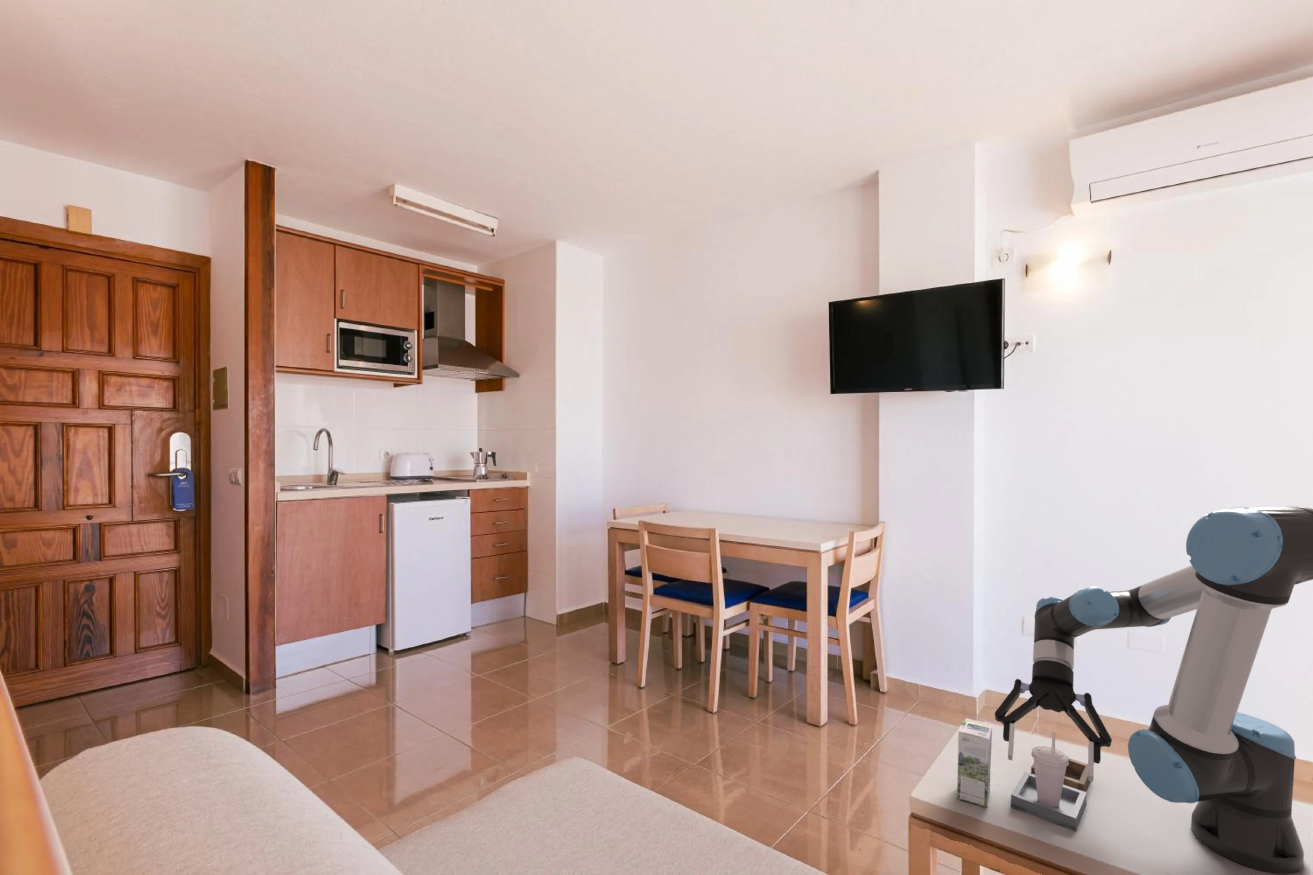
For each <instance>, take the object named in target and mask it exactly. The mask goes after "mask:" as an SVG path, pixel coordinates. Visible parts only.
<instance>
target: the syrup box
mask: <svg viewBox="0 0 1313 875" xmlns="http://www.w3.org/2000/svg"><path fill="white" fill-rule="evenodd" d="M992 737H993V728H992V726H989V725H984V724H980V723H977V722H973V721H972V722H971V721H968V720H963V719H962V720H961V723H960V725H959V729H958V737H957V738H958V740H957V741H958V743H957V745H958V747H957V778H956V779H957V782H956V783H957V786H956V799H958V800H960V801H963V802H967V803H970V804H974V805H977V806H981V807H983V808H984V807H985V808H988V806H989V801H990V796H991V769H992V768H991V764H992V763H991V761H992V742H993V740H992V739H993V738H992Z"/></svg>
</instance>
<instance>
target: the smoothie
mask: <svg viewBox="0 0 1313 875" xmlns="http://www.w3.org/2000/svg"><path fill="white" fill-rule="evenodd" d="M1056 734H1057V733H1056V732H1052V734H1051V747H1050V746H1044V745H1043V746H1040V745H1039V746H1034V747H1032V749H1031V757H1032V758H1033V763H1034V767H1035V777H1036V787H1037V796H1038V800H1039V802H1041V803H1043V804H1046V805H1048V806H1051V807H1058V806H1059V804H1060V798H1061V793H1062V788H1063V782H1064V777H1065V776H1066V773H1065V772H1066V766H1068V765H1069V756H1068V755H1067V754H1066V753H1065V752H1063V751H1061V750H1058V749H1056Z"/></svg>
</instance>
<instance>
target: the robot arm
mask: <svg viewBox="0 0 1313 875" xmlns="http://www.w3.org/2000/svg"><path fill="white" fill-rule="evenodd" d="M1185 549H1186V550H1185V551H1186V554H1187V555H1188V556H1189V557H1190V559H1189V563H1190V564H1191V565H1189V566H1186V567H1184V568H1181V569H1180V570H1177V571H1173V572H1172V573H1170V574H1166V575H1165V576H1164V575H1163V576H1162V577H1158V578H1156V579H1155V580H1152V581H1149V582H1147V583H1144V584H1142V585H1139V586H1137V587H1135V588H1131V589H1129V590H1128V589H1127V590H1119V591H1118V590H1117V591H1108V590H1106V589H1103V588H1101V587H1099V586H1089V587H1087V588H1083V589H1080V590H1078V591H1077V592H1074V593H1073V594H1072V595H1070V596H1068V597H1066V598H1061V597H1057V596H1049V597H1043V598H1040V599H1039V600H1038V601H1037V603H1036V607H1035V613H1034V632H1033V633H1034V634H1033V651H1032V654H1033V655H1032V661H1033V664H1032V668H1031V670H1032V671H1031V672H1032V673H1031V674H1032V675H1031V682H1030V683H1029V684H1028V683H1025V682H1023V681H1022V680H1021V679H1019V678H1016V679H1015V680H1014V684H1013V688H1012V689H1011V690H1010V692H1009V693H1008V695H1007V696H1006V697H1005V699H1004V700H1003V701H1002V703H1001V704H1000V705H999V707H997V709H996V710H995V712H994V719H995V720H996V722H999V723H1001V724H1002V725H1003V729H1002V730H1003V731H1002V738H1003V741H1005V742H1008V748H1007V760H1008V761H1013V760H1014V759H1013V758H1014V757H1013V755H1014V744H1015V731H1016V730H1015V728H1016V727H1015V723H1017V722H1018V721H1019V720H1021V719H1022V718H1024V717H1025V716H1026V715H1027V714H1029V713H1030V712H1031V711H1033V710H1035V709H1037V708H1038V707H1040V708H1042V710H1046V711H1054V712H1056V713H1062V712H1064V713H1065V714H1066V716H1068V718H1070V719H1071V721H1072V722H1074V724H1075V725H1076V726H1077V728H1078V729H1079V731H1080V732H1081V733H1082V734H1083V735H1084V736H1085V738H1087V740H1088V747H1087V748H1088V749H1087V750H1088V753H1087V757H1088V759H1087V760H1088V761H1087V764H1088V780H1089V781H1091V782H1094V777H1095V775H1094V773H1095V772H1094V769H1095V768H1094V766H1095V765H1094V764H1097V765H1098V764H1100V763H1101V757H1102V756H1101V752H1102V751H1101V750H1102V749H1101V748H1102V747H1107V748H1110V747H1111V745H1112V738H1111V735H1110V734H1109V732H1108V730H1107V728H1106V727H1105V724H1104V723H1103V721H1102V719H1101V717H1100V715H1099V713H1098V712H1097V710H1096V709H1095V706H1094V705H1093V699H1092V694H1091V693H1089V692H1085V693H1084V694H1083V693H1082V694H1081V693H1080V694H1079V693H1075V690H1074V673H1075V672H1074V666H1075V664H1074V663H1075V658H1074V657H1075V639H1076V638H1077V637H1081V636H1082V635H1084V634H1086V633H1089V632H1092V631H1095V630H1108V629H1111V630H1112V629H1123V628H1124V629H1125V628H1139V627H1141V628H1142V627H1147V628H1150V627H1156V626H1161V625H1165V624H1167V623H1169V622H1170V620H1171V618H1174V617H1176V616H1180V615H1183V614H1186V613H1189V612H1192V611H1196V612H1195V614H1194V618H1193V622H1192V625H1191V628H1190V632H1189V635H1188V637H1187V638H1188V639H1187V642H1186V644H1185V648H1184V651H1183V655H1182V659H1181V662H1180V665H1179V669H1178V672H1177V675H1176V678H1175V681H1174V684H1173V688H1172V691H1171V694H1170V697H1169V702H1168V703H1167V704H1166V705H1160V706H1158V707H1156V708H1155V710H1154V712H1153V716H1152V718H1151V721H1150V725H1149V727H1148V728H1147V729H1144V728H1143V729H1139V730H1137V731H1135V732H1133V733H1132V734H1131V735H1130V737H1129V739H1128V742H1127V743H1128V744H1127V750H1128V756H1129V760H1130V762H1131V765H1132V766H1133V768H1134V770H1135V773H1136V774H1137V776H1138V777H1139V779H1140V780H1141V782H1142V783H1143V784H1144V785H1145V786H1146V787H1147V789H1149V790H1150V792H1152V793H1153V794H1154V795H1156V796H1157V797H1159V798H1161V799H1162V800H1165V801H1167V802H1170V803H1176V804H1177V803H1179V804H1180V803H1181V804H1182V803H1187V804H1195V803H1196V806H1195V807H1194V809H1193V811H1192V813H1191V820H1190V828H1191V831H1192V833H1193V835H1194V836H1195V837H1196V838H1197V839H1198V840H1199V841H1200V842H1201V843H1202V844H1204V846H1206V847H1208V848H1209V849H1211V850H1212V851H1214V852H1215V853H1217V854H1219V855H1221V856H1222V857H1224V858H1227V859H1229V860H1230V861H1233V862H1236V863H1238V864H1240V865H1244V866H1246V867H1249V868H1252V869H1256V870H1260V871H1263V872H1269V873H1274V874H1292V873H1297V872H1299V871H1301V870H1302V869H1303V868H1304V856H1305V852H1304V848H1303V845H1302V842H1301V840H1300V837H1299V834H1298V831H1297V828H1296V826H1295V823H1294V820H1293V818H1292V816H1293V814H1292V811H1293V797H1294V796H1293V795H1294V794H1293V792H1294V781H1295V780H1294V777H1295V776H1294V775H1295V761H1296V759H1297V756H1296V754H1295V751H1296V750H1295V740H1294V739H1293V737H1292V736H1291V735H1290V734H1289V733H1288V732H1287V730H1284V729H1283V728H1281V727H1279V726H1277V725H1275V724H1273V723H1271V722H1269V721H1267V720H1263V719H1261V718H1259V717H1256V716H1252V715H1249V714H1246V713H1242V712H1238V710H1239V706H1240V704H1241V700H1242V698H1243V695H1244V692H1245V690H1246V686H1247V684H1248V681H1249V677H1250V675H1251V673H1252V672H1251V671H1252V669H1253V665H1254V663H1255V660H1256V658H1257V657H1256V656H1257V654H1258V650H1259V648H1260V645H1261V642H1262V639H1263V636H1264V633H1265V630H1266V627H1267V624H1268V621H1269V618H1270V615H1271V612H1272V610H1273V609H1276V608H1279V607H1283V606H1286V605H1287V604H1289V601H1290V599H1291V596H1292V593H1293V590H1294V587H1295V585H1300V584H1301V583H1305V582H1308V581H1313V508H1311V507H1305V506H1284V507H1279V506H1278V507H1249V506H1248V507H1247V506H1246V507H1245V506H1243V507H1242V506H1240V507H1231V508H1228V509H1220V510H1215V511H1212V512H1210V513H1208V514H1205V515H1203V516H1202V517H1200V518H1199V519H1198V520H1197V521H1196V522H1195V523H1194V524H1193V525H1192V527H1191V528H1190V529H1189V531H1188V534H1187V537H1186V543H1185ZM1026 691H1029V693H1030V695H1031V696H1030V697H1029V698H1028V699H1027V700H1026V701H1025V702H1023V703H1022V704H1020V705H1019V706H1017V707H1016V708H1015V709H1014V710H1012V711H1011V712H1010V713H1009V714H1007V713H1008V712H1009V711H1010V709H1011V708H1012V707H1013V706H1014V704H1015V703H1016V702H1017V700H1018V699H1019V698H1020V696H1021V694H1025V692H1026ZM1075 702H1079V704H1080V705H1081V707H1084V709H1085V712H1086V714H1087V716H1088V717H1089V720H1090V722H1091V723H1092V725H1093V727H1094V729H1095V731H1096V733H1095V731H1094V730H1093V729H1092V727H1090V725H1089V724H1088V723H1087V722H1086V720H1085V719H1084V718H1083V717H1082V716H1081V714H1079V712H1078V711H1077V710H1076V708H1075V706H1074V705H1073V704H1074V703H1075Z"/></svg>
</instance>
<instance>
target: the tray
mask: <svg viewBox="0 0 1313 875" xmlns="http://www.w3.org/2000/svg"><path fill="white" fill-rule="evenodd" d="M1087 792H1088V791H1087ZM1087 792H1084V791H1081V790H1078V789H1075V788H1072V787H1069V786H1066V785H1063V788H1062V793H1061V798H1060V804H1059V806H1058V807H1051V806H1048V805H1046V804H1043V803H1041V802H1039V800H1038V796H1037V787H1036V777H1035V775H1034V774H1031V772H1027V771H1024V772H1023V774H1022V776H1021V777H1020V779H1019V780H1018V783H1017V784H1016V786H1015V788H1014V789H1013V790H1012V793H1011V795H1010V808H1013V809H1015V810H1018V811H1020V812H1024V813H1025V814H1028V815H1031V816H1035V817H1037V818H1039V819H1042V820H1044V821H1047V822H1050V823H1052V824H1056V825H1058V826H1060V827H1064V828H1066V829H1068V830H1071V831H1073V832H1076V831H1077V829H1078V827H1079V825H1080V824H1079V823H1080V821H1081V818H1082V816H1083V814H1084V811H1085V809H1086V806H1087V797H1088V796H1087V795H1088V794H1087Z"/></svg>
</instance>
